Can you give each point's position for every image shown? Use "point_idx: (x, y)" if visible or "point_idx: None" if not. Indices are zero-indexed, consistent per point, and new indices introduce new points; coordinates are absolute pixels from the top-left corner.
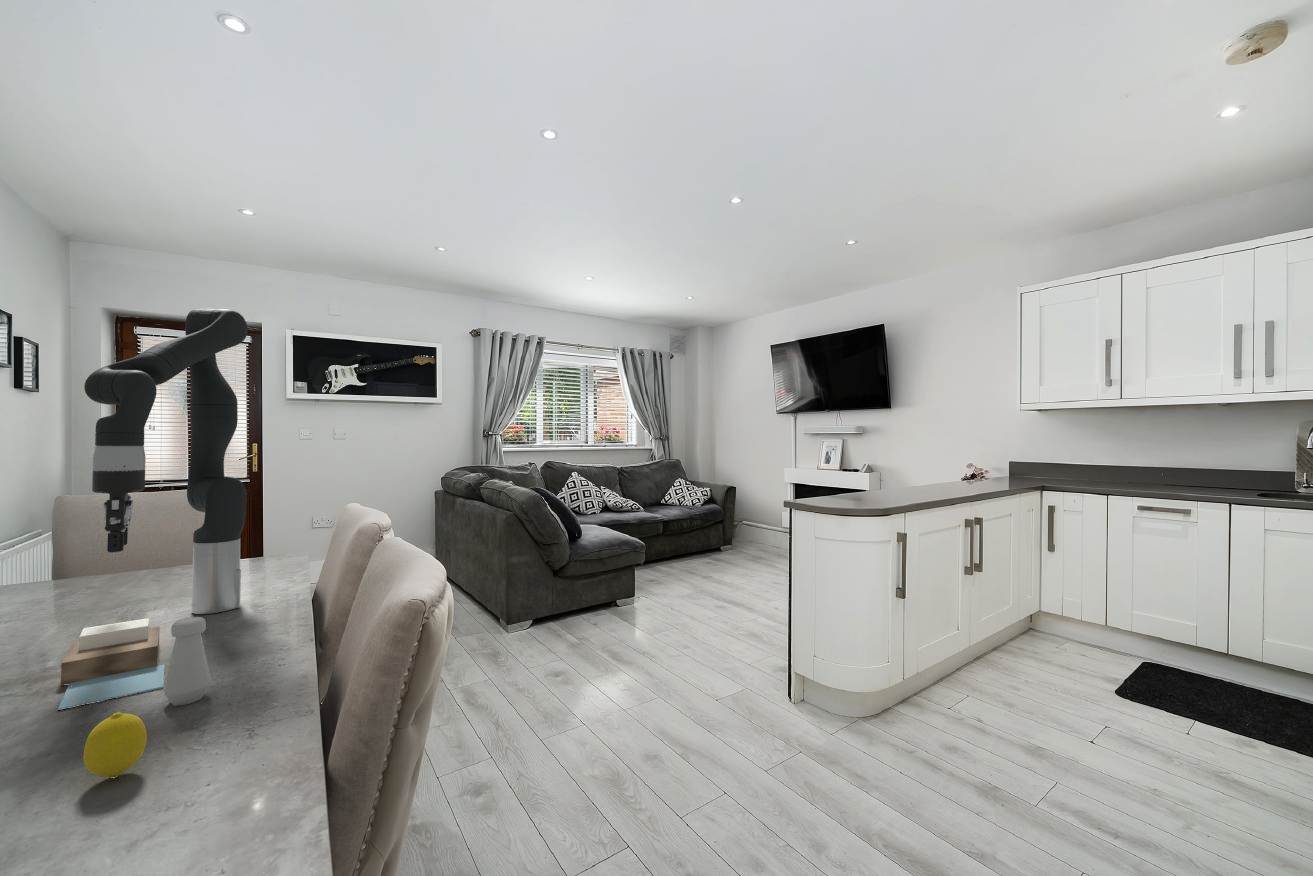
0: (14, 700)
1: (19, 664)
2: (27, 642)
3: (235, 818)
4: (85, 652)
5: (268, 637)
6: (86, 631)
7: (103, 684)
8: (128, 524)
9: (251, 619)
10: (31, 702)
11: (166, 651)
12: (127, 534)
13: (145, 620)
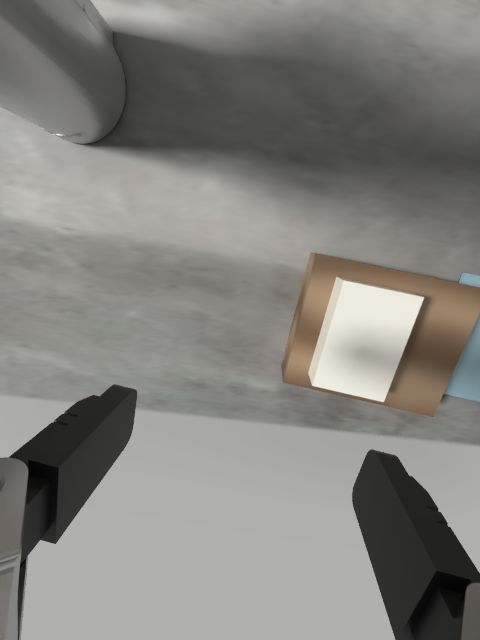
0: (415, 436)
1: (227, 411)
2: (97, 389)
3: None
4: (398, 383)
5: (473, 50)
6: (349, 387)
7: (478, 358)
8: (8, 478)
9: (257, 37)
10: (449, 426)
11: (362, 250)
12: (88, 421)
13: (360, 291)
